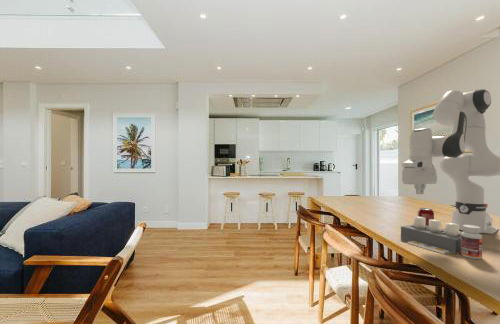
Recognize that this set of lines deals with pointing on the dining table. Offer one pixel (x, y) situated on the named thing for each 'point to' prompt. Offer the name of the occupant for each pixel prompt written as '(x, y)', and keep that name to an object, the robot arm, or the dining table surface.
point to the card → (428, 247)
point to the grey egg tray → (432, 238)
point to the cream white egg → (435, 226)
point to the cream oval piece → (419, 222)
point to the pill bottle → (471, 242)
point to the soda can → (426, 214)
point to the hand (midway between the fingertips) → (419, 194)
